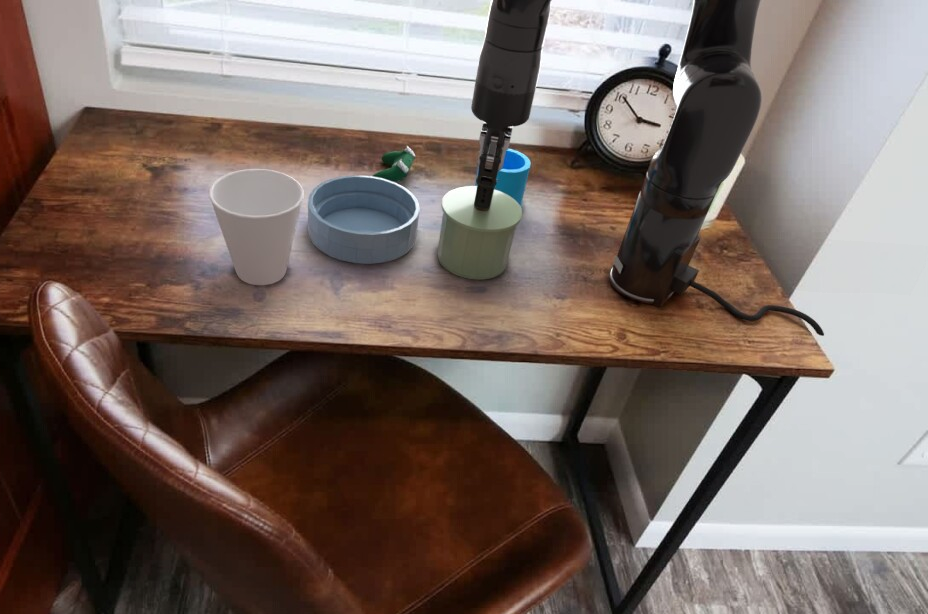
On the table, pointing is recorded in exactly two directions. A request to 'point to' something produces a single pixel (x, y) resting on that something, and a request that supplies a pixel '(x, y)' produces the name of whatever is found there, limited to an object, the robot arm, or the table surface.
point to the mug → (513, 175)
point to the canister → (473, 250)
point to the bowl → (362, 219)
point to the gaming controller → (396, 165)
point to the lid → (481, 210)
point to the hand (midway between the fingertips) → (483, 200)
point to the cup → (258, 221)
